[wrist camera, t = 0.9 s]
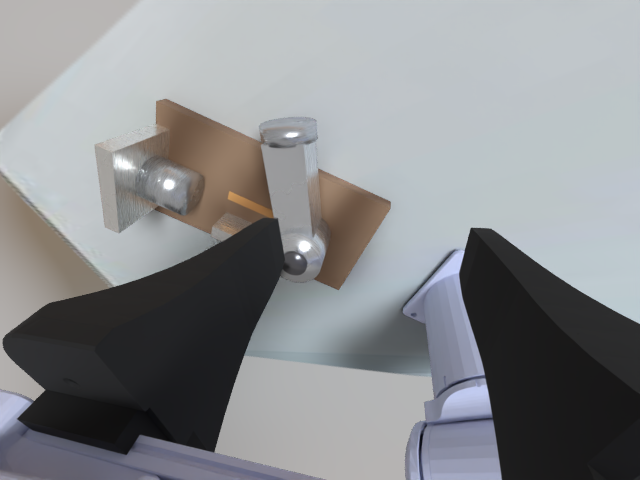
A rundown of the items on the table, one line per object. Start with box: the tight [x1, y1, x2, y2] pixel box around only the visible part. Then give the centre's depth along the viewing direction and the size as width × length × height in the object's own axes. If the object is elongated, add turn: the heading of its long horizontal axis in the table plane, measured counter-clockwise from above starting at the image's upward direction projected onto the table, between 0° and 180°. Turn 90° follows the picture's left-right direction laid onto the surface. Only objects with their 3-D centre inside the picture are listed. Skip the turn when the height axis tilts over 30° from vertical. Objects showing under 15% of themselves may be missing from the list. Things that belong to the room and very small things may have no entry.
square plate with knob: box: [95, 124, 253, 241], centre depth 20 cm, size 9×6×5 cm, turn 69°
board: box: [155, 99, 391, 290], centre depth 22 cm, size 17×9×1 cm, turn 69°
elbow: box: [259, 117, 331, 283], centre depth 18 cm, size 10×4×4 cm, turn 4°
